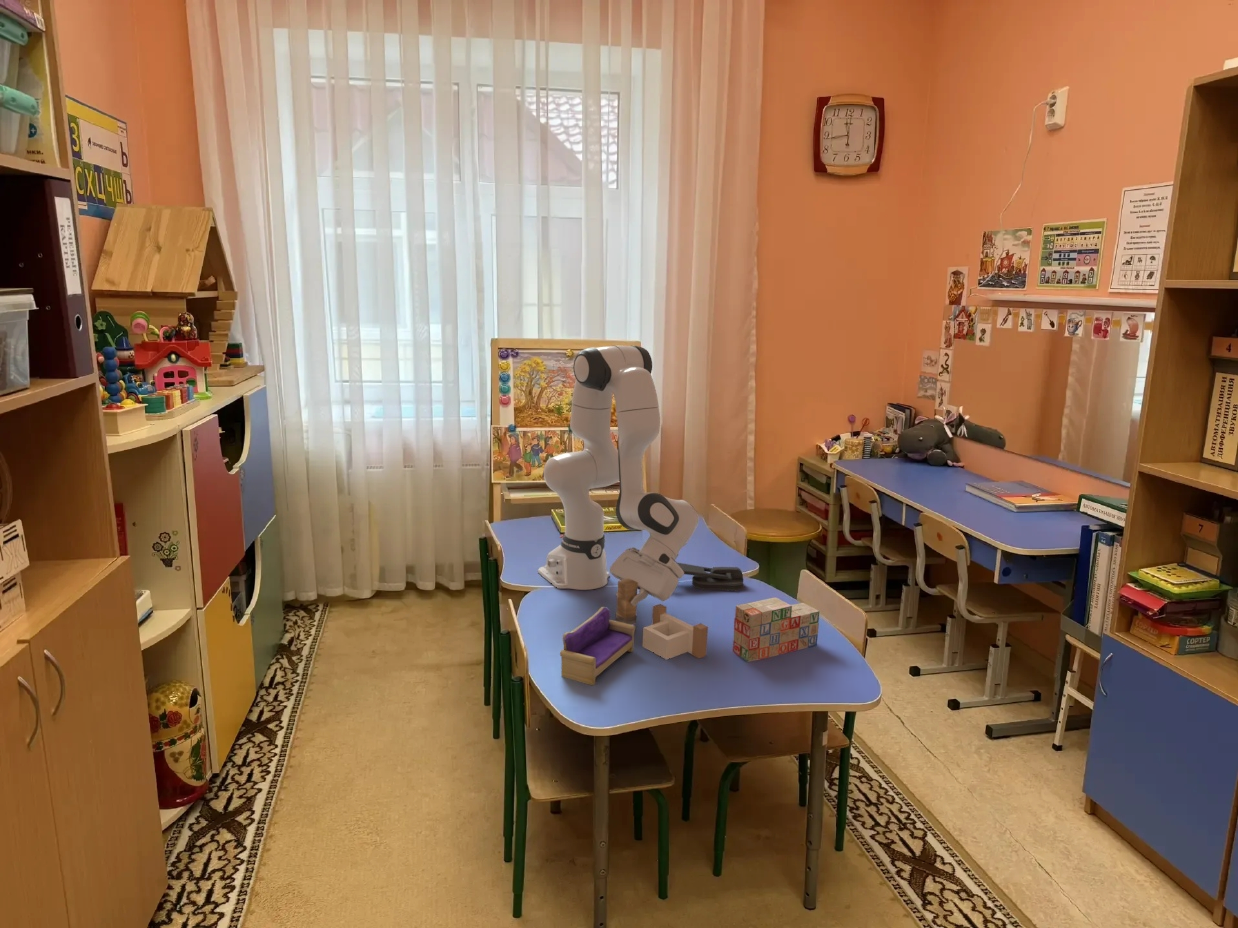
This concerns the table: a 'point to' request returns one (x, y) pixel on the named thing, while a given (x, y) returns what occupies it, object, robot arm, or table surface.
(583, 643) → the toy sofa
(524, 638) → the table surface
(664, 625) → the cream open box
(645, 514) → the robot arm
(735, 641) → the stack of blocks
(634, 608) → the wooden block
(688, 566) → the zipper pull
